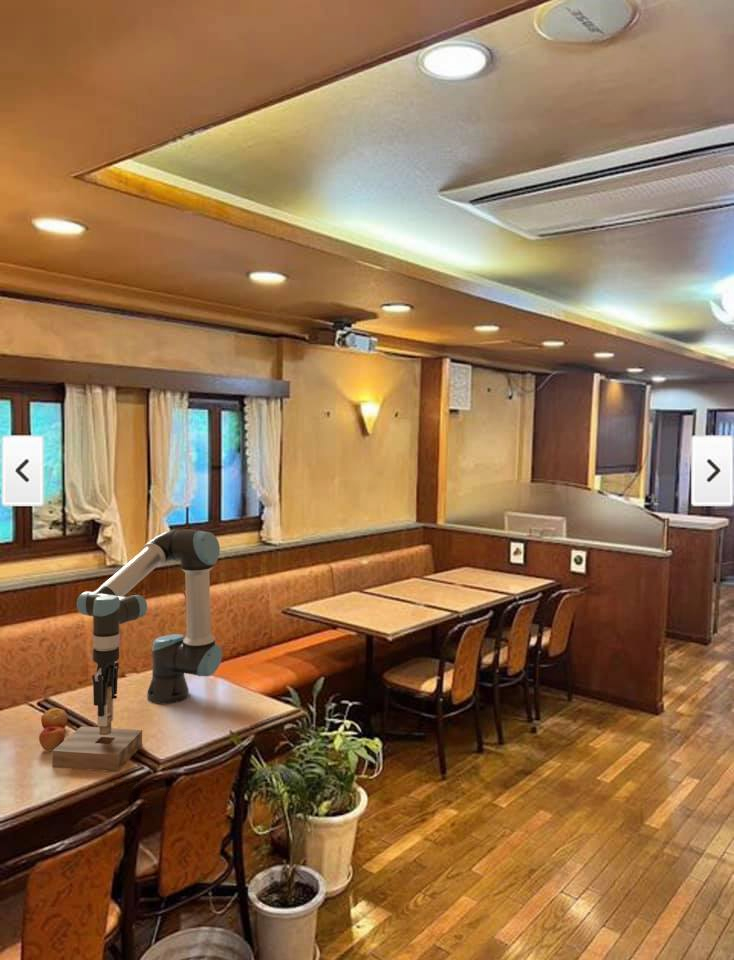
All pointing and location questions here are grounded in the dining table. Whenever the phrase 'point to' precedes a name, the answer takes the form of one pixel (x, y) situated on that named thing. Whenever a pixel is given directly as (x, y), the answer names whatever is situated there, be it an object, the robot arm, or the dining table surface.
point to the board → (97, 749)
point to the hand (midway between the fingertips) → (105, 722)
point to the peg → (107, 729)
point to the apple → (51, 737)
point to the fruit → (54, 718)
